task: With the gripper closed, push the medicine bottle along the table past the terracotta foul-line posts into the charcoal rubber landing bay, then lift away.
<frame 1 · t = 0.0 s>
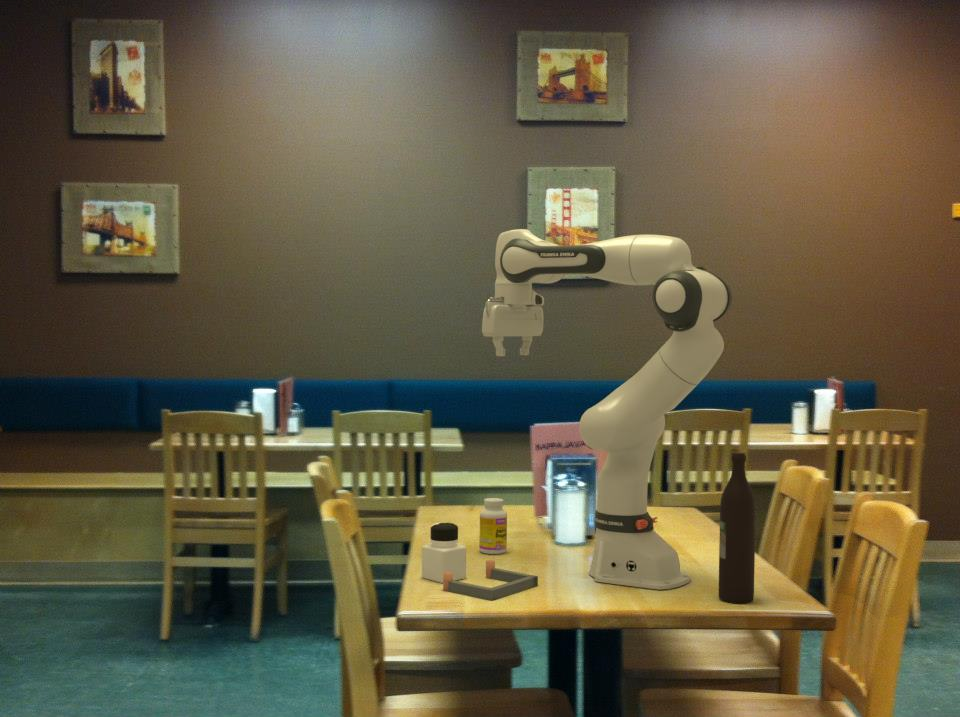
hand: (512, 355, 259), 48 cm above the table, fingers open, 8 cm apart
wine bottle: (736, 600, 221), on the table
medicine bottle: (443, 579, 237), on the table
landing bay: (493, 588, 228), on the table
supplement bottle: (493, 552, 264), on the table
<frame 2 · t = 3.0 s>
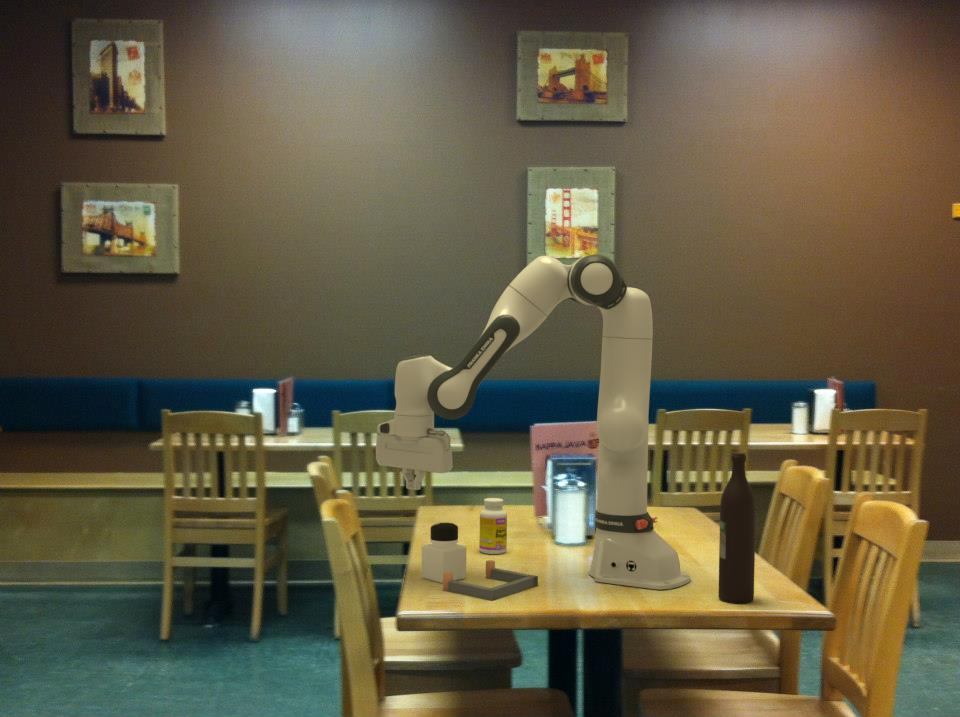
hand: (413, 489, 242), 19 cm above the table, fingers closed
nothing on the table moved.
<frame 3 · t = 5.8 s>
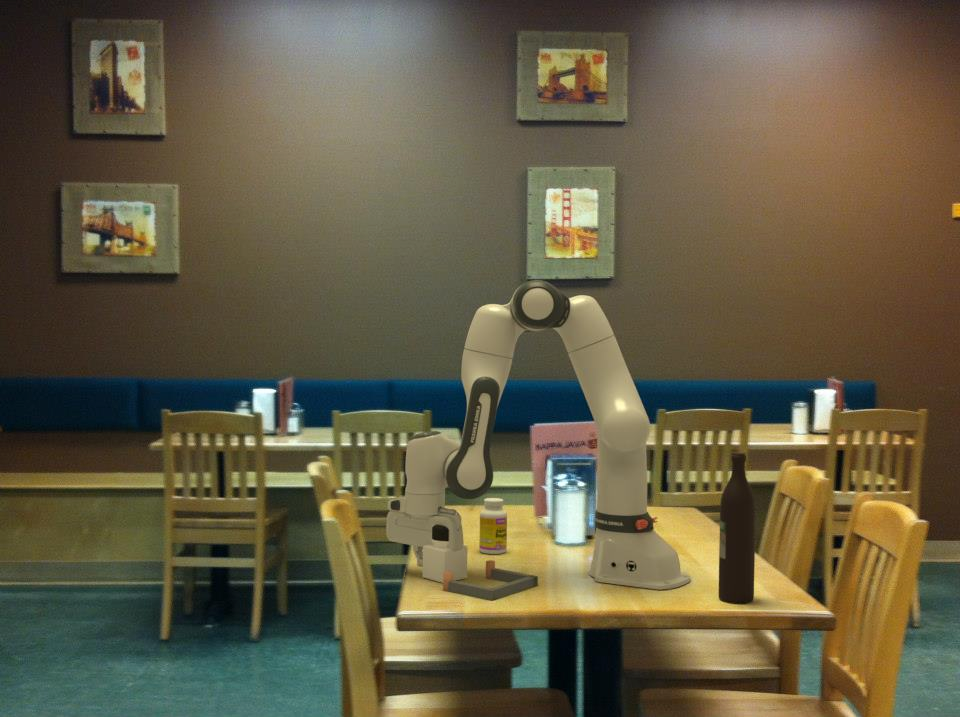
hand: (424, 566, 240), 2 cm above the table, fingers closed
medicine bottle: (444, 578, 237), on the table, touching gripper
everything else where it was.
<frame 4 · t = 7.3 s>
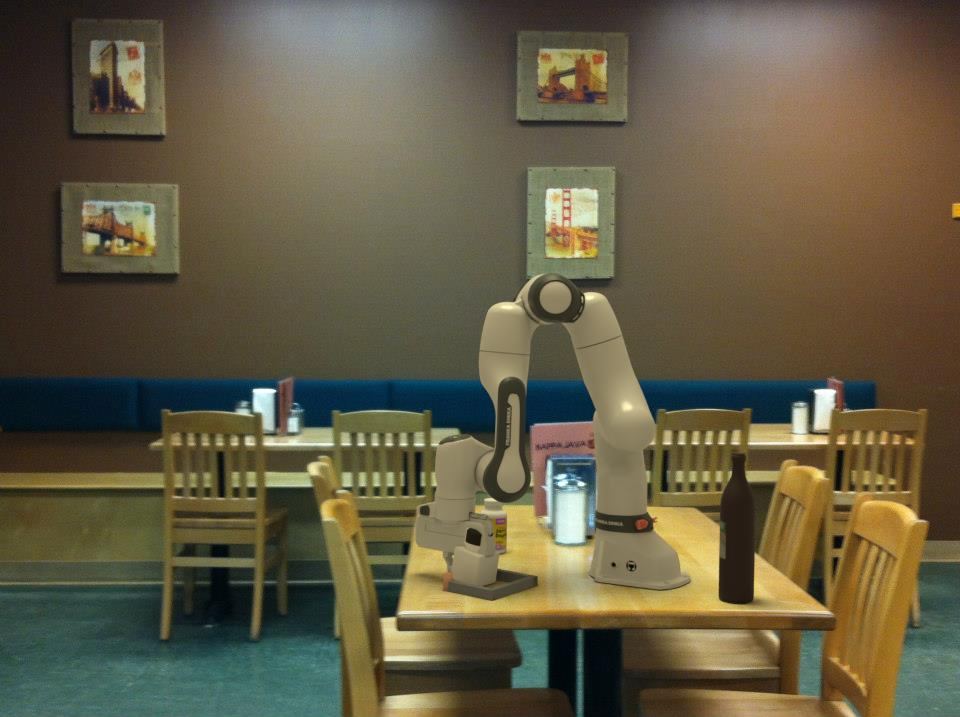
hand: (454, 573, 235), 2 cm above the table, fingers closed
medicine bottle: (472, 581, 232), on the table, touching gripper
everything else where it was.
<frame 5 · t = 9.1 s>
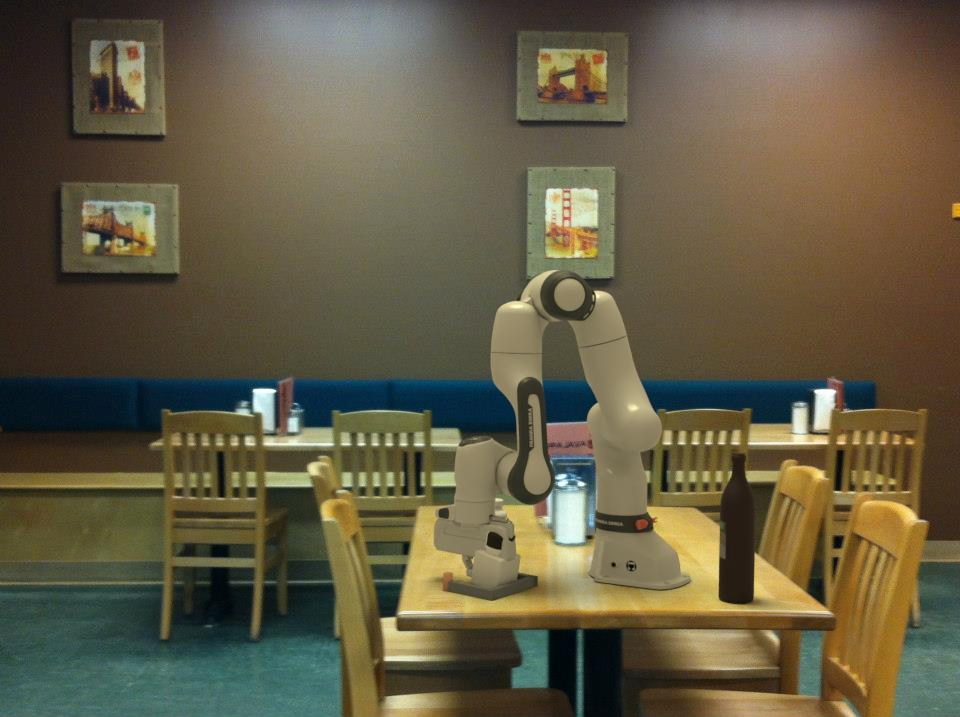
hand: (474, 576, 231), 2 cm above the table, fingers closed
medicine bottle: (492, 585, 229), on the table, touching gripper
everything else where it was.
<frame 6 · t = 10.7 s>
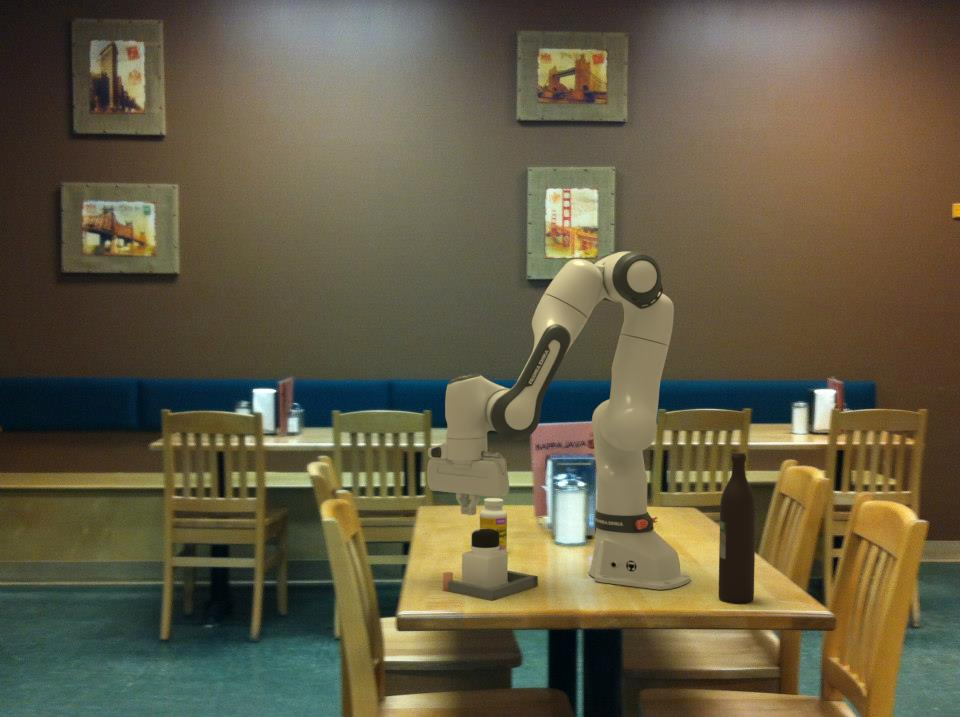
hand: (468, 514, 233), 15 cm above the table, fingers closed
medicine bottle: (484, 586, 230), on the table
everything else where it was.
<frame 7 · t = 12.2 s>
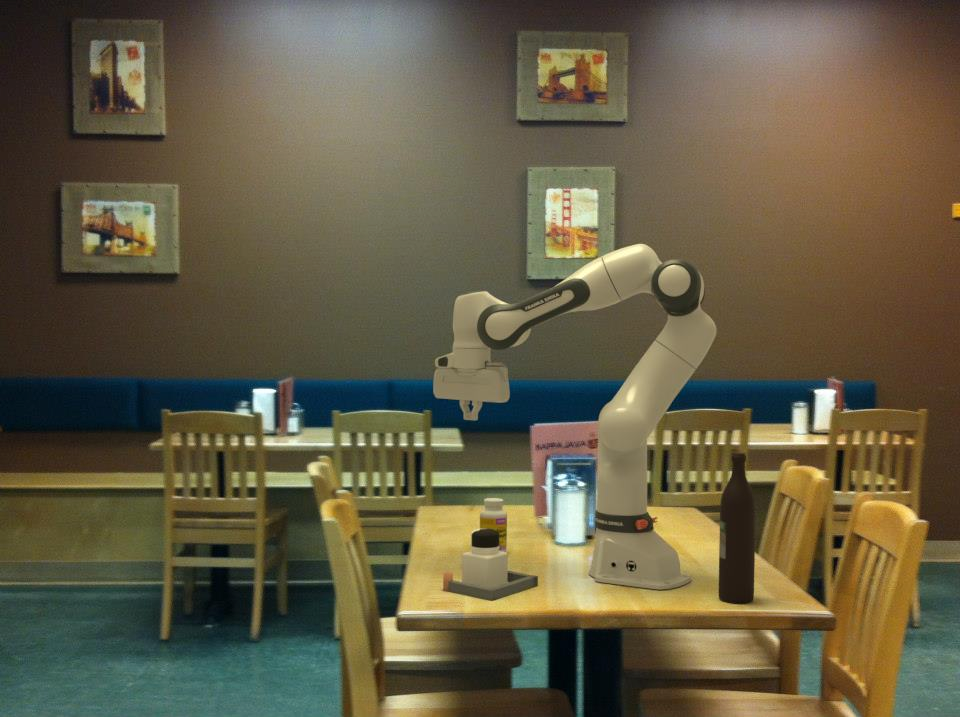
hand: (470, 420, 252), 33 cm above the table, fingers closed
nothing on the table moved.
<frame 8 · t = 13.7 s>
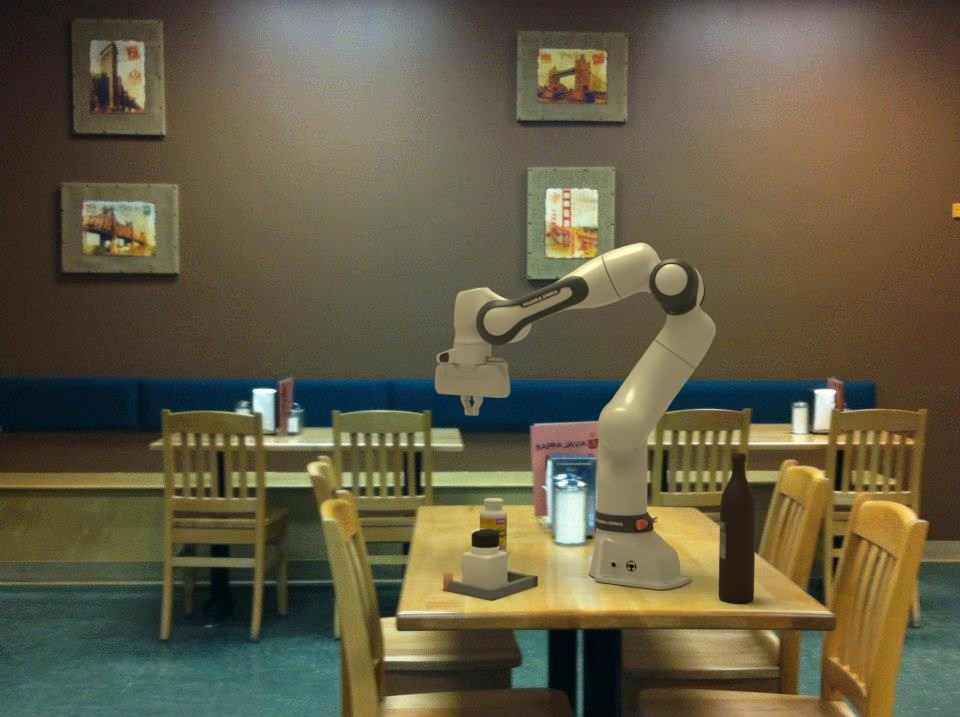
hand: (471, 415, 254), 34 cm above the table, fingers closed
nothing on the table moved.
at the end: medicine bottle inside the target area (1.9 cm from its centre), on the table; medicine bottle tilted 0° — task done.
